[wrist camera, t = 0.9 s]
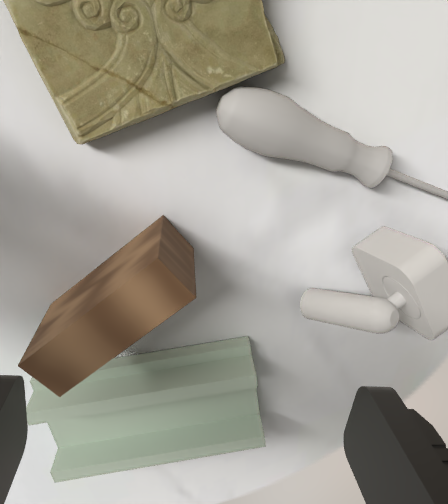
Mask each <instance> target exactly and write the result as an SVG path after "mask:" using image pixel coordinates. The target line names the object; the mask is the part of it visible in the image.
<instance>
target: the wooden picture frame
mask: <svg viewBox="0 0 448 504" xmlns="http://www.w3.org/2000/svg"><path fill="white" fill-rule="evenodd" d="M195 298H196V285H195V266H194V248H193V247H192V246H191V245H190V244H189V243H188V242H187V241H186V239H185V238H184V237H183V236H182V235H181V234H180V233H179V232H178V231H177V230H176V228H175V227H174V226H173V225H172V224H171V223H170V222H169V221H168V220H167V219H166V218H165V216H164V215H163V216H162V217H160V218H159V219H158V220H156V221H155V222H154V223H153V224H151V225H150V226H149V227H148V228H146V229H145V230H144V231H143V232H141V233H140V234H139V235H138V236H136V237H135V238H134V239H133V240H131V241H130V242H129V243H127V244H126V245H125V246H124V247H122V248H121V249H120V250H119V251H117V252H116V253H115V254H114V255H112V256H111V257H110V258H109V259H107V260H106V261H105V262H103V263H102V264H101V265H100V266H98V267H97V268H96V269H95V270H93V271H92V272H91V273H90V274H88V275H87V276H86V277H85V278H83V279H82V280H81V281H80V282H78V283H77V284H76V285H74V286H73V287H72V288H71V289H69V290H68V291H67V292H66V293H64V294H63V295H62V296H61V297H59V298H58V299H57V300H56V301H54V302H53V303H52V304H51V305H50V307H49V309H48V311H47V312H46V314H45V316H44V318H43V320H42V322H41V324H40V325H39V327H38V329H37V331H36V333H35V335H34V337H33V338H32V340H31V342H30V344H29V346H28V348H27V350H26V351H25V353H24V355H23V357H22V359H21V361H20V363H19V364H18V366H19V367H20V368H21V369H23V370H24V371H25V372H27V373H28V374H29V375H31V376H32V377H33V378H35V379H36V380H37V381H39V382H40V383H41V384H43V385H44V386H45V387H47V388H48V389H49V390H50V391H52V392H53V393H54V394H56V395H57V396H58V397H61V396H62V395H64V394H65V393H66V392H68V391H69V390H70V389H72V388H73V387H75V386H76V385H77V384H79V383H80V382H81V381H83V380H84V379H86V378H87V377H88V376H90V375H91V374H92V373H94V372H95V371H96V370H98V369H99V368H101V367H102V366H103V365H105V364H106V363H107V362H109V361H110V360H112V359H113V358H114V357H116V356H117V355H118V354H120V353H121V352H123V351H124V350H125V349H127V348H128V347H129V346H131V345H132V344H133V343H135V342H136V341H138V340H139V339H140V338H142V337H143V336H144V335H146V334H147V333H149V332H150V331H151V330H153V329H154V328H155V327H157V326H158V325H160V324H161V323H162V322H164V321H165V320H166V319H168V318H169V317H170V316H172V315H173V314H175V313H176V312H177V311H179V310H180V309H181V308H183V307H184V306H186V305H187V304H188V303H190V302H191V301H192V300H194V299H195Z"/></svg>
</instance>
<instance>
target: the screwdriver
mask: <svg viewBox="0 0 448 504" xmlns="http://www.w3.org/2000/svg"><path fill="white" fill-rule="evenodd" d="M216 114H217V119H218V123H219V127H220V129H221V130H222V131H223V132H224V133H225V134H226V135H227V136H228V137H230V138H231V139H232V140H233V141H235V142H236V143H238V144H239V145H241V146H242V147H244V148H245V149H248V150H250V151H253V152H256V153H258V154H261V155H263V156H268V157H276V158H284V159H290V160H296V161H301V162H305V163H309V164H312V165H315V166H318V167H321V168H323V169H326V170H329V171H332V172H336V171H342V172H346V173H348V174H351V175H353V176H354V177H356V178H357V179H358V180H359V181H360V182H361V183H362V184H363V185H364V186H366V187H369V188H373V187H375V186H377V185H378V184H379V183H380V182H381V181H382V180H383V179H384V178H385V177H386V175H387V176H389V177H392V178H394V179H397V180H399V181H402V182H405V183H407V184H410V185H412V186H415V187H417V188H420V189H422V190H425V191H427V192H430V193H433V194H435V195H438V196H440V197H443V198H445V199H448V191H445V190H443V189H440V188H438V187H435V186H433V185H430V184H428V183H425V182H422V181H420V180H417V179H415V178H412V177H410V176H407V175H405V174H402V173H400V172H397V171H395V170H392V169H390V166H391V164H392V150H391V149H390V148H388V147H386V146H379V147H372V146H367V145H364V144H362V143H359V142H358V141H356V140H354V139H353V137H352V136H351V135H350V134H349V133H347V132H345V131H342V130H340V129H337V128H335V127H333V126H331V125H329V124H327V123H325V122H323V121H321V120H320V119H318V118H317V117H315V116H314V115H312V114H311V113H309V112H308V111H306V110H305V109H304V108H302V107H301V106H299V105H298V104H297V103H295V102H294V101H293V100H292V99H290V98H289V97H287V96H284V95H282V94H279V93H276V92H274V91H271V90H269V89H263V88H257V87H237V88H234V89H232V90H231V91H229V92H228V93H226V94H225V95H223V96H222V97H221V99H220V101H219V103H218V106H217V110H216Z"/></svg>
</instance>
